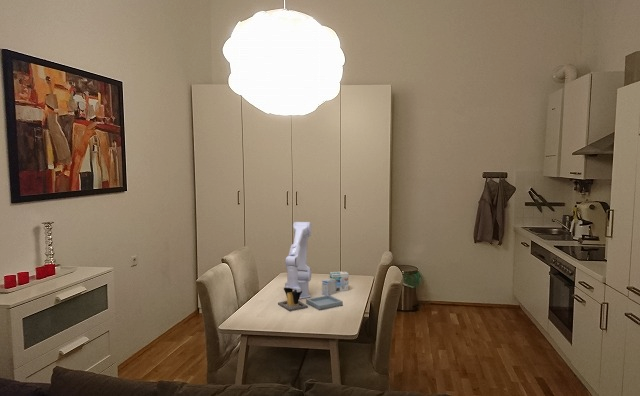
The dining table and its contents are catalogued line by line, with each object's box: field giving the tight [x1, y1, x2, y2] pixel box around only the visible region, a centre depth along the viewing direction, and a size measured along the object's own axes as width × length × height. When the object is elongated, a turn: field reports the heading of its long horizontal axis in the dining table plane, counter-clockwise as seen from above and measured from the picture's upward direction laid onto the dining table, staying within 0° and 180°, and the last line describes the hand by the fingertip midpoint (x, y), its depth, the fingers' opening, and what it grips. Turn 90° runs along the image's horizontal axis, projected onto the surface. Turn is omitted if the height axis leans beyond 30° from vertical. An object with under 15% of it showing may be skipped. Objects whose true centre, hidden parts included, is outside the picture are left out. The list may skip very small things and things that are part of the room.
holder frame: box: [277, 300, 309, 312], centre depth 245 cm, size 14×11×1 cm
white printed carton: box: [329, 270, 350, 292], centre depth 276 cm, size 11×7×11 cm, turn 105°
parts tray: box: [305, 295, 344, 311], centre depth 247 cm, size 14×15×2 cm
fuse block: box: [286, 292, 299, 308], centre depth 245 cm, size 4×5×8 cm
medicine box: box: [321, 277, 337, 296], centre depth 268 cm, size 8×4×9 cm, turn 141°
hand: (292, 301), depth 245 cm, fingers open, 7 cm apart
